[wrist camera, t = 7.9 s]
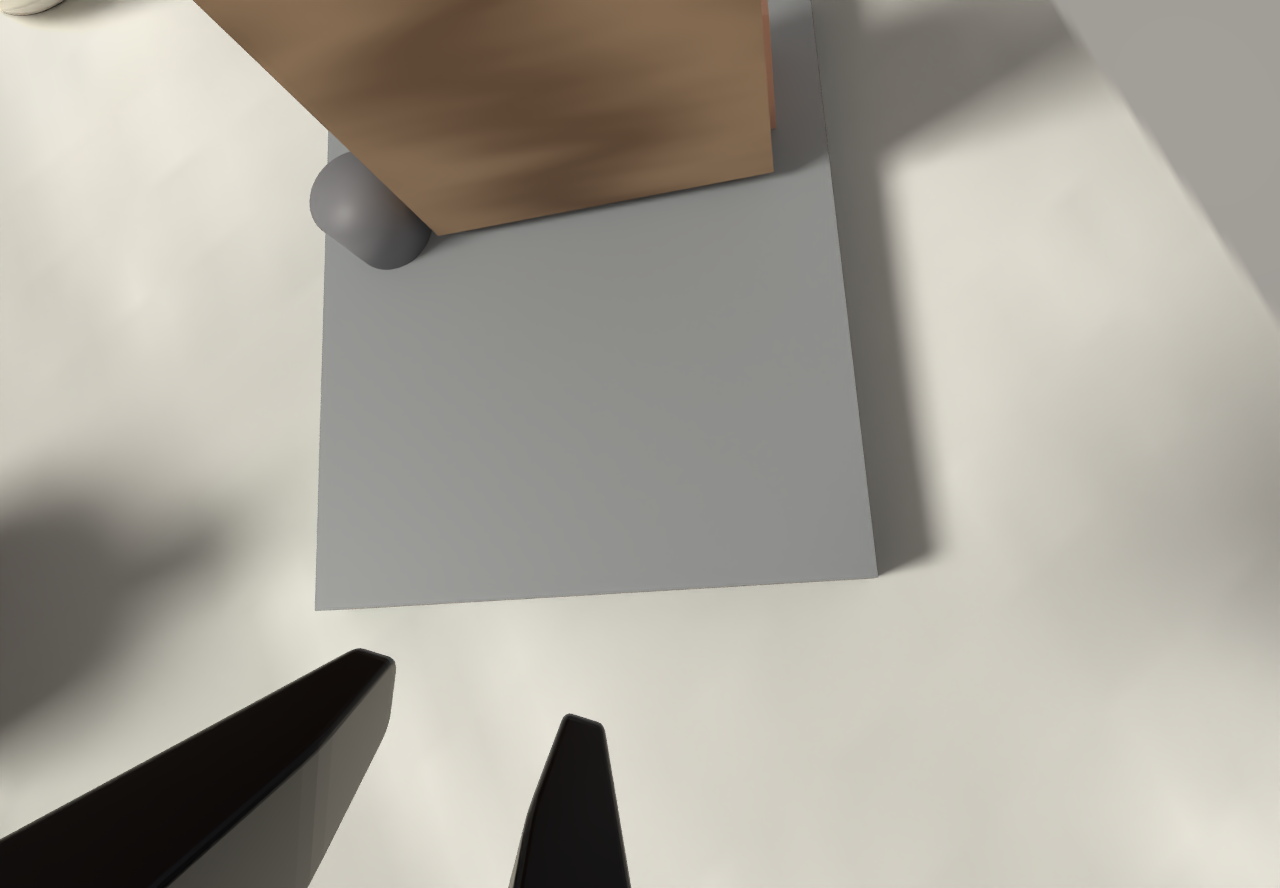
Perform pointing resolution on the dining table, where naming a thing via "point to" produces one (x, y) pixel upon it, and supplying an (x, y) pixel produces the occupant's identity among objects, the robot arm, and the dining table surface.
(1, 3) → the lidded jar
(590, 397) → the board
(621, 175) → the brown wooden panel
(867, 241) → the dining table surface
